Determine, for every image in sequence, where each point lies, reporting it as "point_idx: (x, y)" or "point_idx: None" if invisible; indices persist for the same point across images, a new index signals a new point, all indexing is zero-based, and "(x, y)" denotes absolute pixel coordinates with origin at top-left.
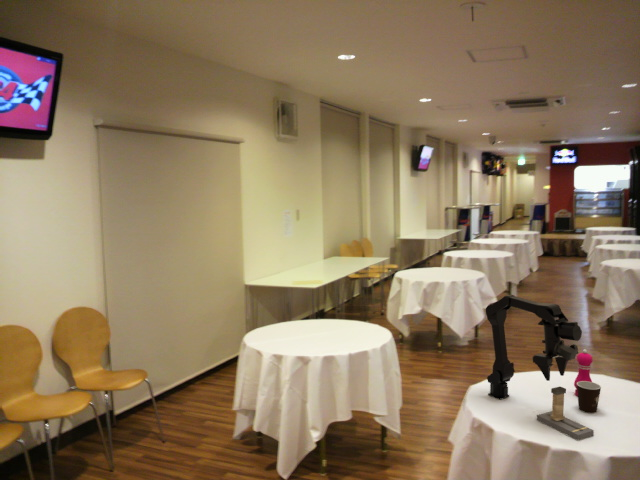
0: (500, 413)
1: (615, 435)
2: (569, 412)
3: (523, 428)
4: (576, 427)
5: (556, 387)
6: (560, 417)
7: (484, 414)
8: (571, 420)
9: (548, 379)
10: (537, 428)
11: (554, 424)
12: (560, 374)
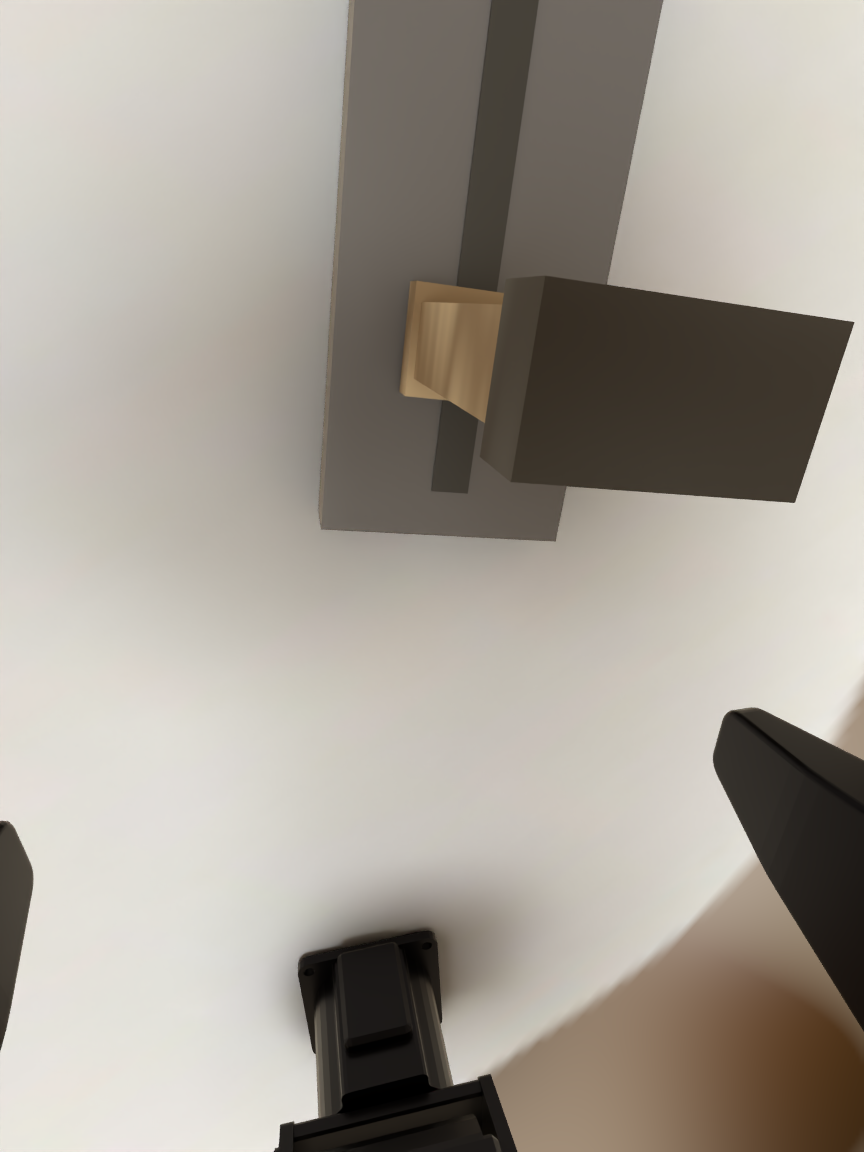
0: (655, 752)
1: None
2: (32, 468)
3: None
4: (503, 14)
5: (647, 483)
6: (496, 293)
7: None
8: (355, 208)
9: (786, 733)
10: None
11: None
12: (25, 900)
